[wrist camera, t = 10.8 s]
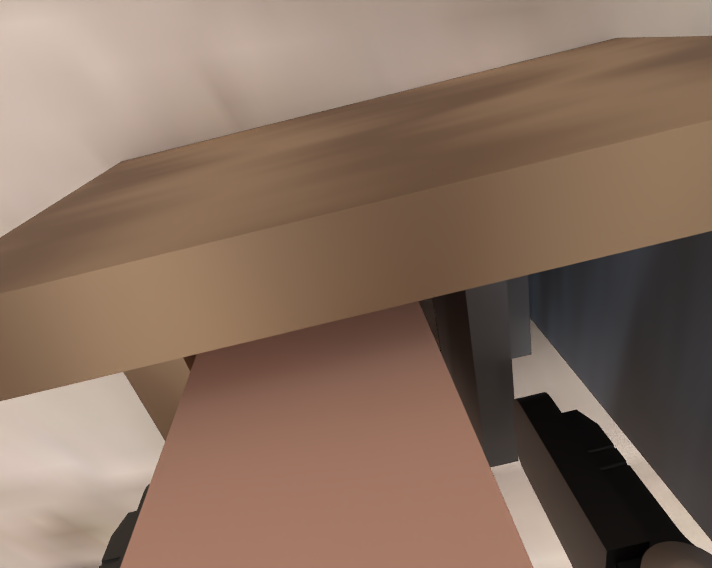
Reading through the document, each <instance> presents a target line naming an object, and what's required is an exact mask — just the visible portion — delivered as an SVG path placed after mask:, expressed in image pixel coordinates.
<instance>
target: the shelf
mask: <svg viewBox="0 0 712 568" xmlns="http://www.w3.org/2000/svg"><path fill="white" fill-rule="evenodd" d="M429 298H433V304H434V310H435V317H436V323H437V329H438V335H439V341H440V348H441V354H442V357H443V359H444V362H445V364H446V366H447V369H448V371H449V373H450V375H451V378H452V380H453V382H454V385H455V387H456V389H457V392H458V394H459V396H460V399H461V401H462V403H463V406H464V408H465V410H466V413H467V415H468V417H469V420H470V422H471V424H472V427H473V429H474V431H475V433H476V436H477V438H478V440H479V443H480V445H481V447H482V450H483V452H484V454H485V457H486V459H487V461H488V464H489V466H490V467H494V466H498V465H503V464H507V463H511V462H516V461H518V453H517V449H516V444H515V431H514V416H513V400H514V388H513V374H512V359H513V358H517V357H522V356H526V355H530V354H531V335H530V318H531V319H532V321H533V322H534V323H535V324H536V325H537V327H538V328H539V329H540V330H541V332H542V333H543V334H544V335H545V337H546V338H547V339H548V340H549V341H550V343H551V344H552V345H553V346H554V348H555V349H556V350H557V351H558V353H559V354H560V355H561V356H562V357H563V359H564V360H565V361H566V362H567V364H568V365H569V366H570V367H571V369H572V370H573V371H574V372H575V373H576V375H577V376H578V377H579V378H580V380H581V381H582V382H583V383H584V385H585V386H586V387H587V388H588V389H589V391H590V392H591V393H592V394H593V396H594V397H595V398H596V399H597V401H598V402H599V403H600V404H601V405H602V407H603V408H604V409H605V410H606V412H607V413H608V414H609V415H610V417H611V418H612V419H613V420H614V421H615V423H616V424H617V425H618V426H619V428H620V429H621V430H622V431H623V433H624V434H625V435H626V436H627V437H628V439H629V440H630V441H631V442H632V444H633V445H634V446H635V447H636V449H637V450H638V451H639V452H640V453H641V455H642V456H643V457H644V458H645V460H646V461H647V462H648V463H649V465H650V466H651V467H652V468H653V469H654V471H655V472H656V473H657V474H658V476H659V477H660V478H661V479H662V481H663V482H664V483H665V484H666V485H667V487H668V488H669V489H670V490H671V492H672V493H673V494H674V495H675V497H676V498H677V499H678V500H679V501H680V503H681V504H682V505H683V506H684V508H685V509H686V510H687V511H688V513H689V514H690V515H691V516H692V517H693V519H694V520H695V521H696V522H697V524H698V525H699V526H700V527H701V529H702V530H703V531H704V532H705V533H706V535H707V536H708V537H709V538H710V540H711V541H712V36H692V37H642V38H615V39H611V40H607V41H603V42H599V43H595V44H591V45H587V46H583V47H579V48H575V49H571V50H567V51H563V52H559V53H555V54H551V55H547V56H543V57H539V58H535V59H531V60H527V61H523V62H519V63H515V64H511V65H507V66H503V67H499V68H495V69H491V70H487V71H483V72H479V73H475V74H471V75H467V76H463V77H459V78H455V79H451V80H447V81H443V82H439V83H435V84H431V85H427V86H423V87H419V88H415V89H411V90H407V91H403V92H399V93H395V94H391V95H387V96H383V97H379V98H375V99H370V100H366V101H362V102H358V103H354V104H350V105H346V106H342V107H338V108H334V109H330V110H326V111H322V112H318V113H314V114H310V115H306V116H302V117H298V118H294V119H290V120H286V121H282V122H278V123H274V124H270V125H266V126H262V127H258V128H254V129H250V130H246V131H242V132H238V133H234V134H230V135H226V136H222V137H218V138H214V139H210V140H206V141H202V142H198V143H194V144H190V145H186V146H182V147H178V148H174V149H170V150H166V151H162V152H158V153H154V154H150V155H146V156H142V157H138V158H134V159H130V160H126V161H122V162H120V163H118V164H117V165H115V166H114V167H112V168H110V169H109V170H107V171H106V172H104V173H102V174H101V175H99V176H98V177H96V178H95V179H93V180H91V181H90V182H88V183H87V184H85V185H83V186H82V187H80V188H79V189H77V190H75V191H74V192H72V193H71V194H69V195H68V196H66V197H64V198H63V199H61V200H60V201H58V202H56V203H55V204H53V205H52V206H50V207H48V208H47V209H45V210H44V211H42V212H40V213H39V214H37V215H36V216H34V217H33V218H31V219H29V220H28V221H26V222H25V223H23V224H21V225H20V226H18V227H17V228H15V229H13V230H12V231H10V232H9V233H7V234H6V235H4V236H2V237H1V238H0V401H3V400H7V399H11V398H15V397H20V396H24V395H28V394H32V393H36V392H40V391H45V390H49V389H53V388H57V387H61V386H65V385H70V384H74V383H78V382H82V381H86V380H91V379H95V378H99V377H103V376H107V375H111V374H116V373H120V372H124V374H125V375H126V377H127V379H128V380H129V382H130V383H131V385H132V387H133V388H134V390H135V392H136V393H137V395H138V397H139V398H140V400H141V402H142V403H143V405H144V407H145V408H146V410H147V412H148V413H149V415H150V417H151V418H152V420H153V421H154V423H155V425H156V426H157V428H158V430H159V431H160V433H161V435H162V436H163V438H164V440H165V441H166V438H167V436H168V433H169V430H170V427H171V425H172V422H173V419H174V416H175V413H176V411H177V408H178V405H179V402H180V399H181V397H182V394H183V391H184V388H185V385H186V383H187V380H188V377H189V374H190V372H191V369H192V366H193V363H194V360H195V358H196V355H197V354H199V353H203V352H208V351H212V350H216V349H220V348H224V347H228V346H233V345H237V344H241V343H245V342H249V341H254V340H258V339H262V338H266V337H270V336H274V335H279V334H283V333H287V332H291V331H295V330H300V329H304V328H308V327H312V326H316V325H320V324H325V323H329V322H333V321H337V320H341V319H345V318H350V317H354V316H358V315H362V314H366V313H371V312H375V311H379V310H383V309H387V308H391V307H396V306H400V305H404V304H408V303H412V302H417V301H421V300H425V299H429Z"/></svg>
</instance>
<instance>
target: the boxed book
mask: <svg viewBox="0 0 712 568" xmlns="http://www.w3.org/2000/svg"><path fill="white" fill-rule="evenodd" d="M120 568H533V566H532V563H531V561H530V559H529V556H528V554H527V552H526V550H525V547H524V545H523V543H522V540H521V538H520V536H519V533H518V531H517V529H516V526H515V524H514V522H513V519H512V517H511V515H510V512H509V510H508V508H507V505H506V503H505V501H504V498H503V496H502V494H501V492H500V489H499V487H498V485H497V482H496V480H495V478H494V475H493V473H492V471H491V468H490V466H489V464H488V461H487V459H486V457H485V454H484V452H483V450H482V447H481V445H480V443H479V440H478V438H477V436H476V433H475V431H474V429H473V427H472V424H471V422H470V420H469V417H468V415H467V413H466V410H465V408H464V406H463V403H462V401H461V399H460V396H459V394H458V392H457V389H456V387H455V385H454V382H453V380H452V378H451V375H450V373H449V371H448V369H447V366H446V364H445V362H444V359H443V357H442V355H441V352H440V350H439V348H438V345H437V343H436V341H435V338H434V336H433V334H432V331H431V329H430V327H429V324H428V322H427V320H426V317H425V315H424V313H423V310H422V308H421V306H420V304H419V301H417V302H412V303H408V304H404V305H400V306H396V307H391V308H387V309H383V310H379V311H375V312H371V313H366V314H362V315H358V316H354V317H350V318H345V319H341V320H337V321H333V322H329V323H325V324H320V325H316V326H312V327H308V328H304V329H300V330H295V331H291V332H287V333H283V334H279V335H274V336H270V337H266V338H262V339H258V340H254V341H249V342H245V343H241V344H237V345H233V346H228V347H224V348H220V349H216V350H212V351H208V352H203V353H199V354H197V355H196V358H195V360H194V363H193V366H192V369H191V372H190V374H189V377H188V380H187V383H186V385H185V388H184V391H183V394H182V397H181V399H180V402H179V405H178V408H177V411H176V413H175V416H174V419H173V422H172V425H171V427H170V430H169V433H168V436H167V438H166V441H165V444H164V447H163V450H162V452H161V455H160V458H159V461H158V464H157V466H156V469H155V472H154V475H153V478H152V480H151V483H150V486H149V489H148V491H147V494H146V497H145V500H144V503H143V505H142V508H141V511H140V514H139V517H138V519H137V522H136V525H135V528H134V531H133V533H132V536H131V539H130V542H129V544H128V547H127V550H126V553H125V556H124V558H123V561H122V564H121V567H120Z"/></svg>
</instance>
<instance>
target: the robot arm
mask: <svg viewBox="0 0 712 568" xmlns="http://www.w3.org/2000/svg"><path fill="white" fill-rule="evenodd" d="M513 416H514V431H515V444H516V449H517V453H518V456H519V459H520V462H521V465H522V467H523V469H524V472H525V474H526V476H527V477H528V479H529V481H530V483H531V485H532V487H533V489H534V491H535V493H536V495H537V497H538V499H539V501H540V503H541V505H542V507H543V509H544V511H545V513H546V515H547V517H548V519H549V521H550V523H551V525H552V527H553V529H554V531H555V533H556V535H557V537H558V538H559V540H560V542H561V544H562V546H563V548H564V550H565V552H566V554H567V556H568V558H569V560H570V562H571V564H572V566H573V568H712V555H711V554H710V553H708V552H706V551H704V550H703V549H701V548H698V547H696V546H695V545H694V544H692V543H691V542H690V541H689V540H688V539H687V538H686V537H685V536H684V535H683V534H682V533H681V532H680V530H679V529H678V528H677V527H676V525H675V524H674V523H673V521H672V520H671V519H670V518H669V516H668V515H667V514H666V512H665V511H664V510H663V508H662V507H661V506H660V504H659V503H658V502H657V501H656V499H655V498H654V497H653V495H652V494H651V493H650V491H649V490H648V489H647V488H646V486H645V485H644V484H643V482H642V481H641V480H640V478H639V477H638V476H637V474H636V473H635V472H634V471H633V469H632V468H631V467H630V465H627V463H626V460H625V459H624V457H623V456H622V455H621V454H620V452H619V451H618V450H617V448H614V445H613V443H612V442H611V440H610V439H609V438H608V437H607V435H606V434H605V433H604V431H603V430H602V429H601V427H600V426H599V425H598V424H597V423H595V422H594V421H592V420H591V419H589V418H588V417H586V416H585V415H583V414H582V413H581V412H579V411H578V410H573V411H568V412H564V413H561V411H560V410H559V408H558V407H557V406H556V404H555V403H554V401H553V400H552V398H551V397H550V396H549V395H548V394H547V393H545V392H543V393H539V394H535V395H531V396H526V397H522V398H518V399H514V400H513ZM149 486H150V484H149V485H148V486H147V487H146V489H145V491H144V493H143V496H142V498H141V501H140V504H139V507H138V509H137V511H134V512H130V513H128V514H127V516H126V517H125V518H124V520H123V521H122V522H121V524H120V525H119V527H118V528H117V529H116V531H115V532H114V533H113V535H112V536H111V539H110V541H109V544H108V546H107V549H106V551H105V554H104V556H103V559H102V565H101V566H99V568H120V567H121V564H122V561H123V558H124V556H125V553H126V550H127V547H128V544H129V542H130V539H131V536H132V533H133V531H134V528H135V525H136V522H137V519H138V517H139V514H140V511H141V508H142V505H143V503H144V500H145V497H146V494H147V491H148V489H149Z"/></svg>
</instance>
